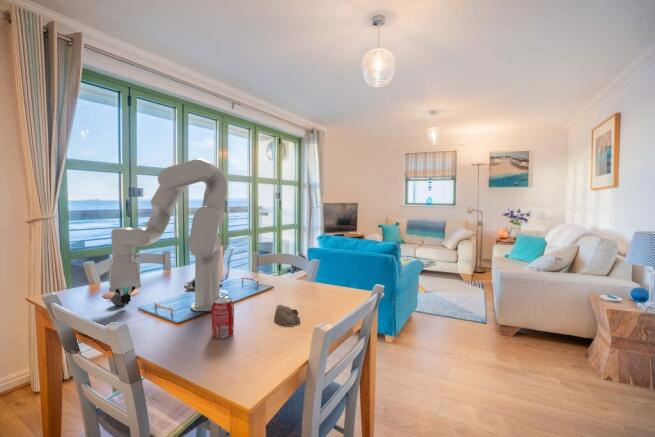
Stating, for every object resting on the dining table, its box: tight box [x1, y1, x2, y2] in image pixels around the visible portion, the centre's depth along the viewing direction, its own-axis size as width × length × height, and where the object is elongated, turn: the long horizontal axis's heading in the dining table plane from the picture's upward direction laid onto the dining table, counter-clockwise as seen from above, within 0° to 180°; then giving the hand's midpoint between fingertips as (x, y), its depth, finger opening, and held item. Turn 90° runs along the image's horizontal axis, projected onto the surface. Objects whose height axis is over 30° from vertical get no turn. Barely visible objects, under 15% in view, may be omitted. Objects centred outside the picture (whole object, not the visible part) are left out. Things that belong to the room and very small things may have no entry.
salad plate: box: [184, 277, 223, 292], centre depth 156 cm, size 19×18×5 cm
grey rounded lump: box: [111, 293, 126, 307], centre depth 124 cm, size 6×6×6 cm
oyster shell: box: [273, 304, 301, 326], centre depth 115 cm, size 10×12×5 cm
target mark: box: [102, 288, 140, 300], centre depth 139 cm, size 14×14×1 cm
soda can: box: [211, 296, 235, 340], centre depth 100 cm, size 7×7×12 cm
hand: (126, 303), depth 121 cm, fingers closed
